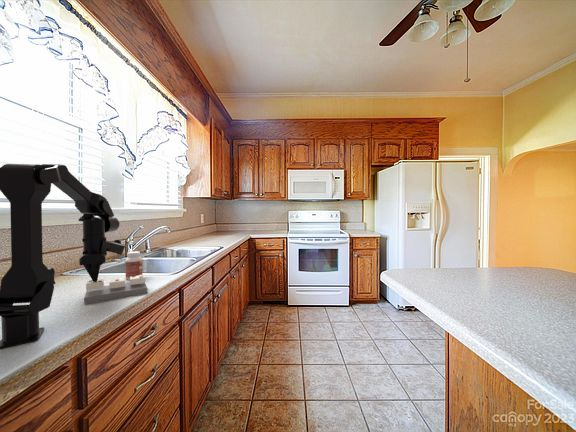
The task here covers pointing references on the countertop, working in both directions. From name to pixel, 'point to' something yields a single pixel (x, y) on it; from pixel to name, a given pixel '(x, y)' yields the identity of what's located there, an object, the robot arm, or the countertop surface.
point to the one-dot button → (117, 283)
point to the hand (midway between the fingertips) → (95, 281)
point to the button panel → (114, 292)
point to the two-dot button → (137, 279)
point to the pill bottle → (133, 264)
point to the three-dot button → (95, 284)
